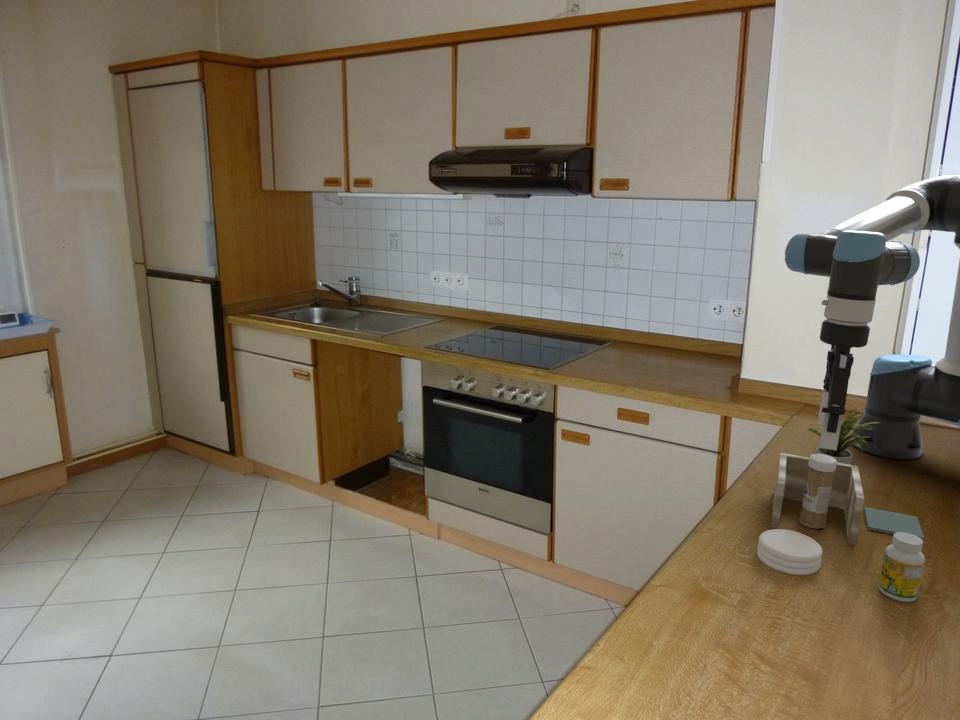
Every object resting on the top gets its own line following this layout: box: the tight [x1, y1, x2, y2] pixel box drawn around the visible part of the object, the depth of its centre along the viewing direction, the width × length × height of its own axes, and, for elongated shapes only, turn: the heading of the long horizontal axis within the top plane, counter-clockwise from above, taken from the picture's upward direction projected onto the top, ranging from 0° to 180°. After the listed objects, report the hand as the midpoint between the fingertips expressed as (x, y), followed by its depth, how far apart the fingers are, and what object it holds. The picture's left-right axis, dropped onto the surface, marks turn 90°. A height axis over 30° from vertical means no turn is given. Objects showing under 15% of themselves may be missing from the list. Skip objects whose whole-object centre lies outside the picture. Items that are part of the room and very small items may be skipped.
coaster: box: [756, 528, 824, 576], centre depth 120 cm, size 10×10×4 cm
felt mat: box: [863, 506, 925, 542], centre depth 134 cm, size 9×9×1 cm
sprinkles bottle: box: [798, 453, 837, 530], centre depth 131 cm, size 5×5×13 cm
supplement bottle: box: [878, 532, 926, 603], centre depth 110 cm, size 5×5×10 cm
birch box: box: [771, 452, 865, 546], centre depth 134 cm, size 16×14×9 cm
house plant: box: [805, 408, 880, 465], centre depth 150 cm, size 14×14×16 cm
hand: (826, 436), depth 128 cm, fingers open, 13 cm apart
